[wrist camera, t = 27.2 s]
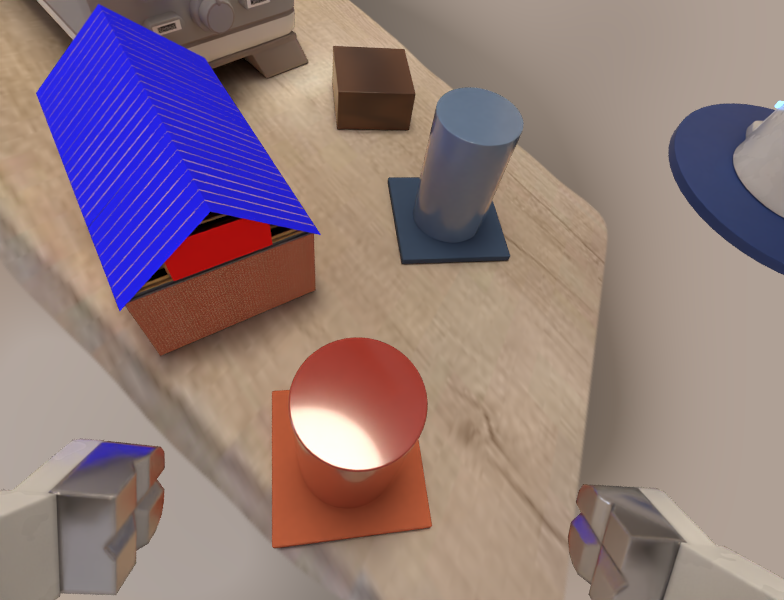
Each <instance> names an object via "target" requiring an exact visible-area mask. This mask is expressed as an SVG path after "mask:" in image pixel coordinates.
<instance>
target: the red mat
mask: <svg viewBox="0 0 784 600" xmlns="http://www.w3.org/2000/svg"><path fill="white" fill-rule="evenodd" d="M289 392H290V390H283V391H273V392H272V547H273V548H281V547H289V546H296V545H304V544H311V543H319V542H326V541H333V540H341V539H348V538H356V537H363V536H371V535H378V534H386V533H393V532H401V531H408V530H415V529H423V528H430V527H431V526H432V523H431V517H430V511H429V504H428V498H427V491H426V485H425V479H424V472H423V466H422V460H421V453H420V447H419V441H418V440H417V442H416V443H415V445H414V446H413V448H412V450H411V451H410V453H409V454H408V456H407V458H406V459H405V461H404V462H403V464H402V466H401V467H400V469H399V471H398V472H397V474H396V475H395V477H394V479H393V480H392V482H391V483H390V485H389V486H388V488H387V489H386V490H385V492H384V493H383V494H382V495H381V496H379V497H378V498H377V499H376V500H374V501H373V502H371V503H369V504H367V505H364V506H361V507H357V508H349V509H345V508H337V507H333V506H330V505H328V504H326V503H324V502H322V501H320V500H319V499H318V498H317V497H315V496H314V495H313V494H312V493H311V492H310V490H309V489H308V488H307V486H306V484H305V483H304V481H303V478H302V476H301V473H300V468H299V463H298V458H297V453H296V448H295V443H294V438H293V433H292V428H291V423H290V417H289V409H288V399H289Z"/></svg>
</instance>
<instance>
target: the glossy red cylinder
mask: <svg viewBox="0 0 784 600" xmlns="http://www.w3.org/2000/svg"><path fill="white" fill-rule="evenodd" d="M427 405H428V402H427V393H426V389H425V385H424V383H423V380H422V378H421V376H420V374H419V372H418V370H417V369H416V368H415V366H414V365H413V363H412V362H411V361H410V360H409V359H408V358H407V357H406V356H405V355H404V354H403V353H401V352H400V351H399V350H397V349H396V348H394V347H392V346H390V345H388V344H386V343H384V342H381V341H378V340H374V339H369V338H346V339H341V340H337V341H334V342H332V343H329V344H327V345H325V346H323V347H321V348H320V349H318V350H317V351H315V352H314V353H313V354H312V355H310V356H309V357H308V358H307V359H306V360H305V362H304V363H303V364H302V365H301V367H300V368H299V370H298V371H297V373H296V375H295V377H294V379H293V381H292V384H291V387H290V392H289V399H288V409H289V417H290V423H291V428H292V433H293V438H294V443H295V448H296V453H297V458H298V463H299V468H300V473H301V476H302V478H303V481H304V483H305V484H306V486H307V488H308V489H309V490H310V492H311V493H312V494H313V495H314V496H315V497H317V498H318V499H319V500H320V501H322V502H324V503H326V504H328V505H330V506H333V507H337V508H345V509H349V508H357V507H361V506H364V505H367V504H369V503H371V502H373V501H374V500H376V499H377V498H378V497H379V496H381V495H382V494H383V493H384V492H385V490H386V489H387V488H388V486H389V485H390V483H391V482H392V480H393V479H394V477H395V475H396V474H397V472H398V471H399V469H400V467H401V466H402V464H403V462H404V461H405V459H406V458H407V456H408V454H409V453H410V451H411V450H412V448H413V446H414V445H415V443H416V442H417V440H418V438H419V437H420V435H421V432H422V430H423V428H424V425H425V421H426V417H427Z"/></svg>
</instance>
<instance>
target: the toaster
mask: <svg viewBox="0 0 784 600" xmlns="http://www.w3.org/2000/svg"><path fill="white" fill-rule="evenodd" d="M37 1H38V3H39V4H40V5H41V6H42V7H43V8H44V9H45V10H46V11H47V12H48V13H49V14H50V15H51V17H52V18H53V19H54V20H55V21H56V22H57V23H58V24H59V25H60V26H61V27H62V28H63V30H64V31H65V32H66V33H67V34H68V35H69V36H70V37H71V38H72V39H73V40H74V38H75V37H76V35H77V34H78V33H79V31H80V30H81V28H82V27H83V25H84V24H85V23H86V21H87V20H88V18H89V17H90V15H91V14H92V12H93V11H94V10H95V8H96V7H97V5H98V4H100V5H102V6H104V7H106V8H108V9H110V10H112V11H114V12H116V13H118V14H120V15H121V16H123V17H125V18H127V19H129V20H131V21H133V22H135V23H137V24H139V25H141V26H143V27H145V28H147V29H149V30H151V31H153V32H155V33H157V34H159V35H161V36H163V37H165V38H167V39H169V40H171V41H173V42H175V43H176V44H178V45H180V46H182V47H184V48H186V49H188V50H190V51H192V52H194V53H196V54H198V55H200V56H202V57H204V58H205V59H206V60H207V62H208V63H209V65H210V67H211V68H212V69H213V68H216V67H218V66H221V65H224V64H227V63H230V62H233V61H235V60H238V59H241V58H245V59H246V60H247V61H248V62H249V63H250V64H252V65H253V66H254V67H255V68H256V69H257V70H258V71H259V72H261V73H262V74H263V75H264V76H265V77H266V78H269V77H272V76H274V75H277V74H279V73H282V72H285V71H287V70H290V69H292V68H295V67H298V66H300V65H303V64H305V63H308V60H307V58H306V56H305V54H304V52H303V50H302V48H301V46H300V44H299V42H298V40H297V39H296V33H294V32H293V31H292V30H293V28H294V24H295V13H294V7H293V6H294V0H37Z"/></svg>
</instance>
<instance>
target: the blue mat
mask: <svg viewBox="0 0 784 600" xmlns="http://www.w3.org/2000/svg"><path fill="white" fill-rule="evenodd" d="M419 179H420V177H413V178H388V186H389V192H390V198H391V204H392V209H393V215H394V221H395V227H396V233H397V238H398V244H399V250H400V256H401V262H402V264H413V263H442V262H471V261H500V260H508V259H509V257H510V254H509V251H508V248H507V244H506V241H505V238H504V235H503V232H502V229H501V226H500V222H499V219H498V216H497V213H496V210H495V207H494V204H493V201H492V202H491V205H490V207H489V209H488V211H487V214H486V216H485V218H484V221H483V223H482V225H481V228H480V230H479V231H478V233H477V234H476V235H475V236H474V237H472V238H471V239H469V240H466V241H463V242H458V243H448V242H442V241H439V240H436V239H434V238H431V237H430V236H428V235H427V234H425V233H424V232H423V231H422V230H421V229H420V228H419V227H418V226H417V224H416V222H415V220H414V218H413V212H412V211H413V205H414V200H415V196H416V192H417V188H418V183H419Z"/></svg>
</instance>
